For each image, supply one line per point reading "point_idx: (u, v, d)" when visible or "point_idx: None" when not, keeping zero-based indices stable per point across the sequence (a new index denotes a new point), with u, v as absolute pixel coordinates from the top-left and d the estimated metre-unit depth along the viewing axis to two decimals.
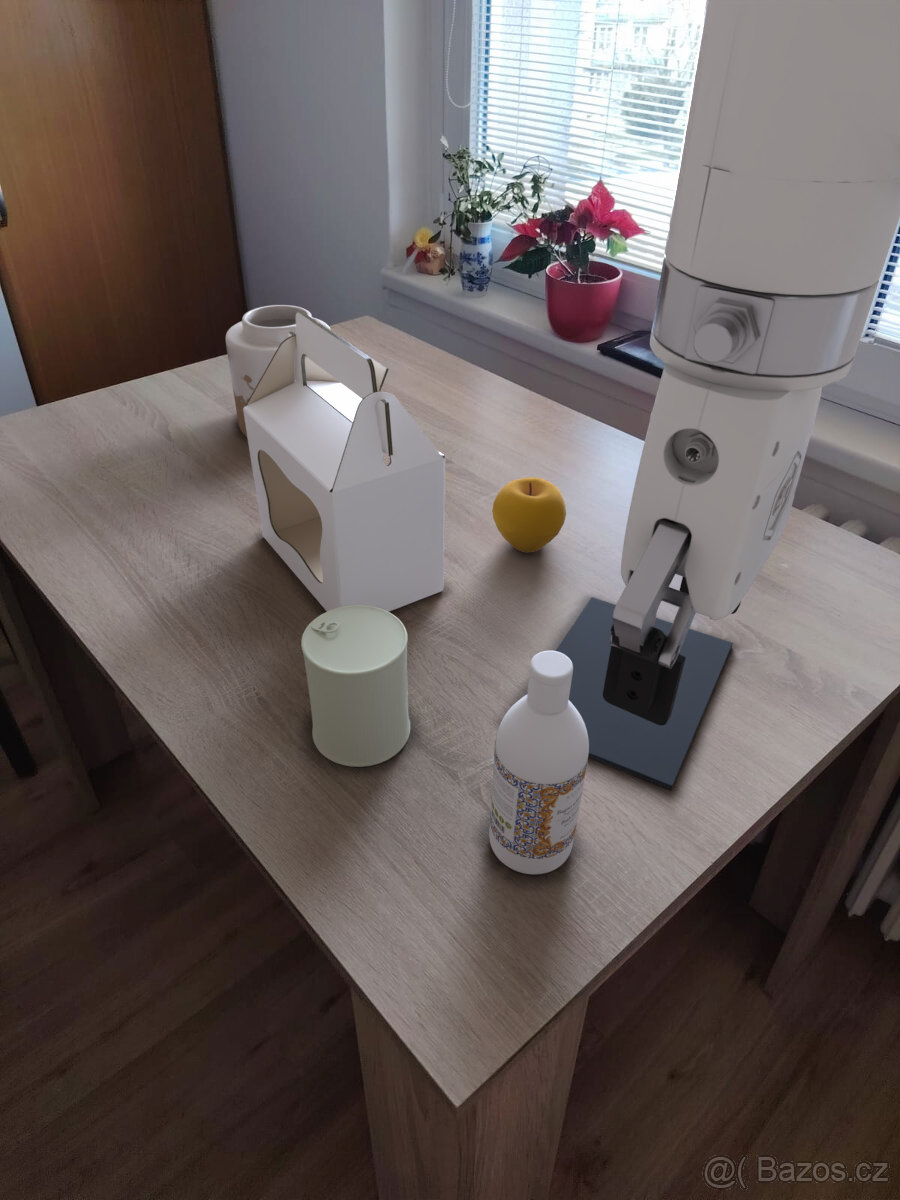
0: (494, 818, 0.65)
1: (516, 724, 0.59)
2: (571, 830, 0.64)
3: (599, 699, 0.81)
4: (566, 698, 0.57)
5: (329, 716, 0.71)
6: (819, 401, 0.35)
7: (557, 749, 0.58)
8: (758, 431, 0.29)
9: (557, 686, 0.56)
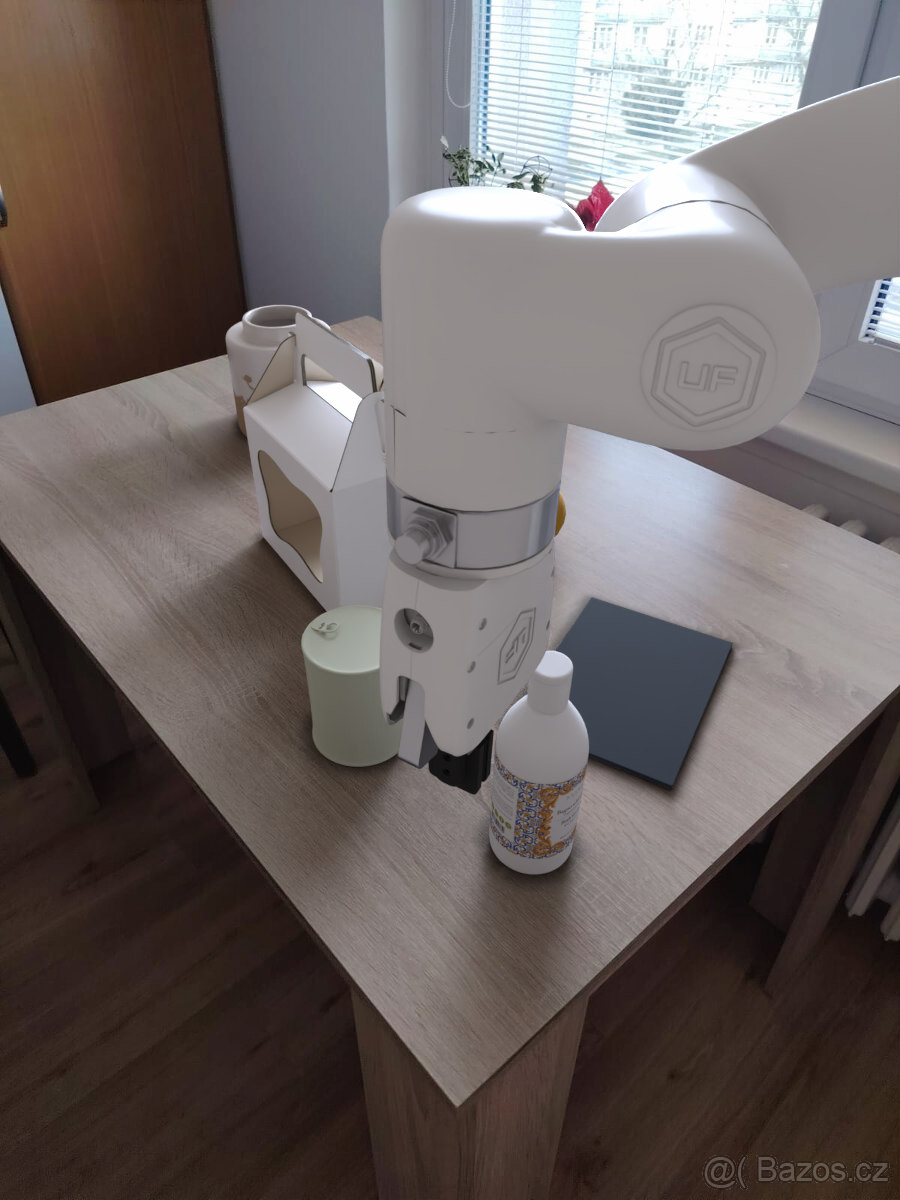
0: (494, 818, 0.65)
1: (516, 724, 0.59)
2: (571, 830, 0.64)
3: (599, 699, 0.81)
4: (566, 698, 0.57)
5: (329, 716, 0.71)
6: (550, 559, 0.40)
7: (557, 749, 0.58)
8: (460, 615, 0.34)
9: (557, 687, 0.56)
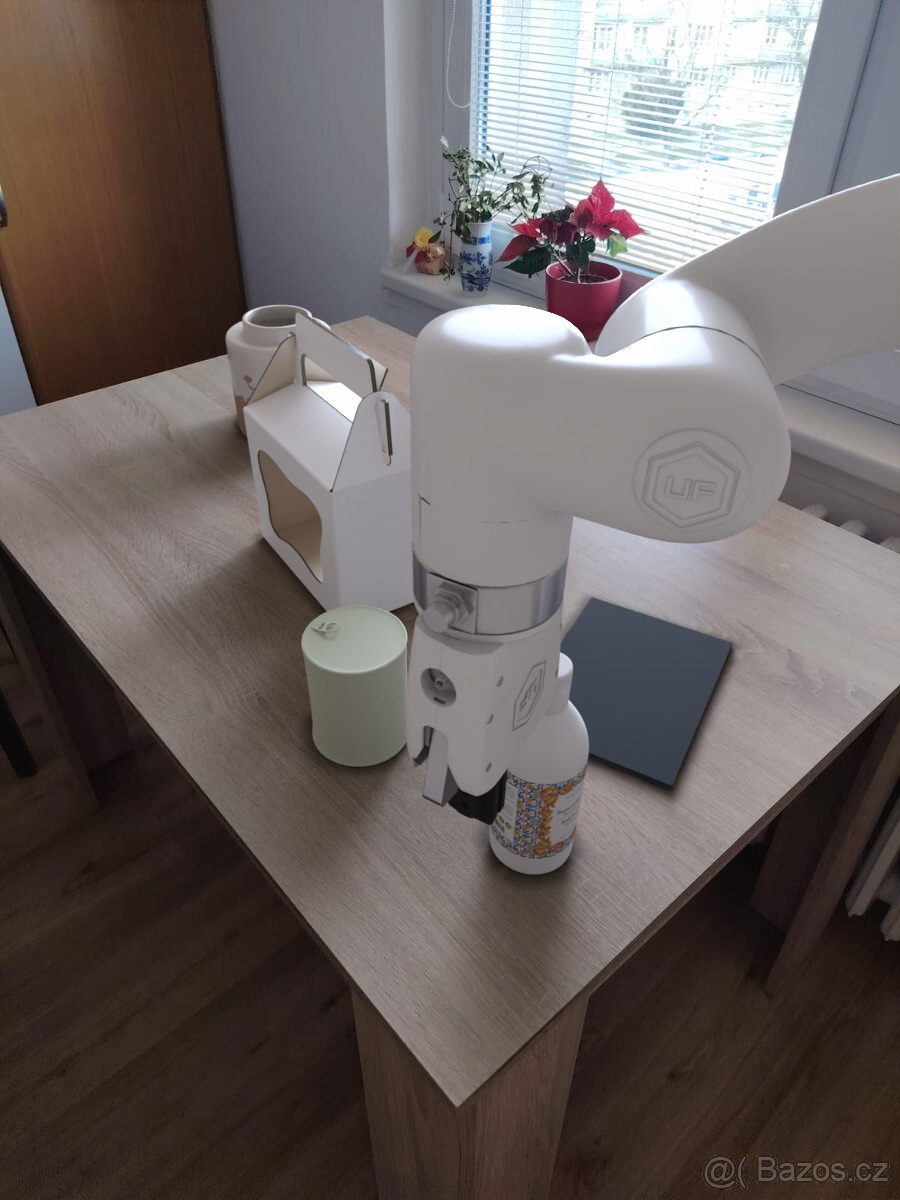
0: None
1: None
2: (571, 830, 0.64)
3: (599, 699, 0.81)
4: (566, 698, 0.57)
5: (329, 716, 0.71)
6: (558, 616, 0.44)
7: (557, 749, 0.58)
8: (480, 675, 0.38)
9: (557, 687, 0.56)
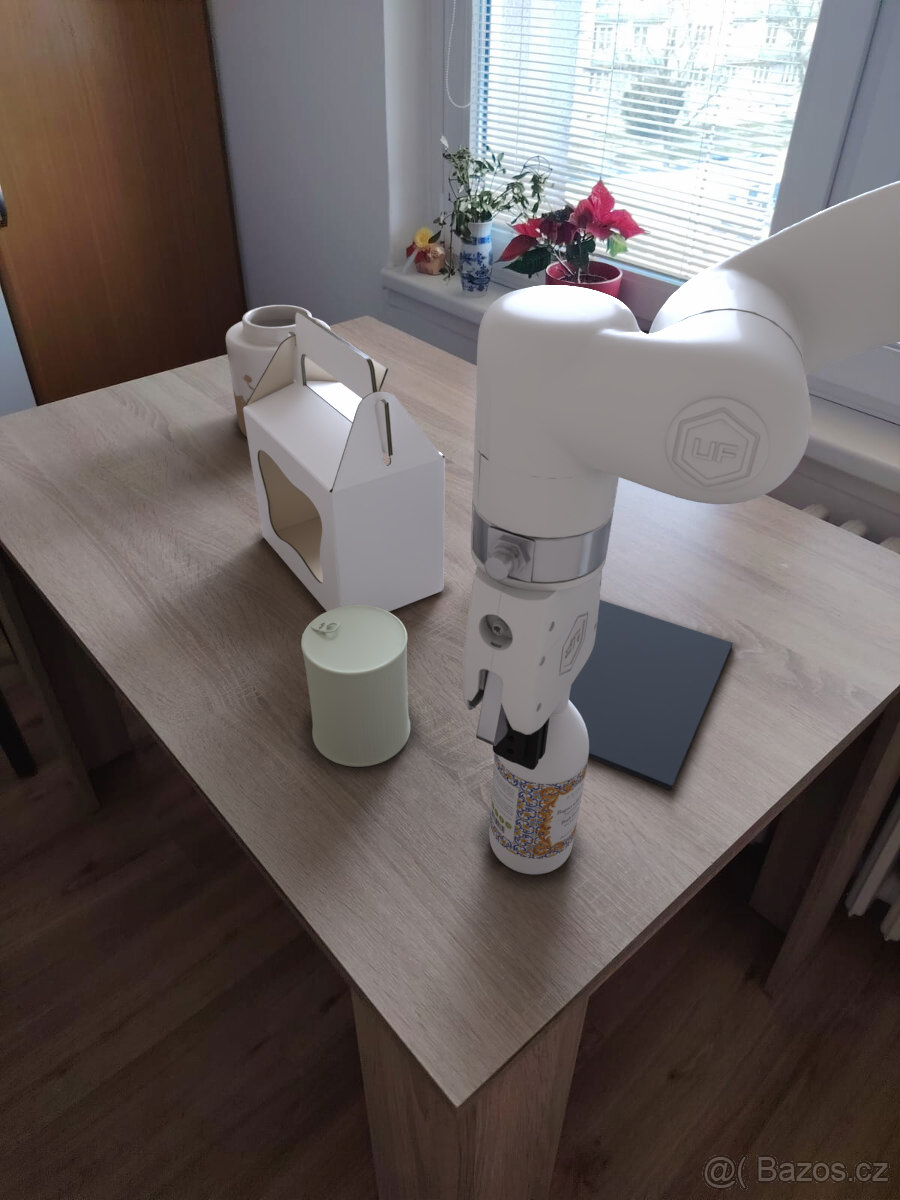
0: (494, 818, 0.65)
1: None
2: (571, 830, 0.64)
3: (599, 699, 0.81)
4: (566, 698, 0.57)
5: (329, 716, 0.71)
6: (599, 572, 0.49)
7: (557, 749, 0.58)
8: (535, 619, 0.43)
9: None
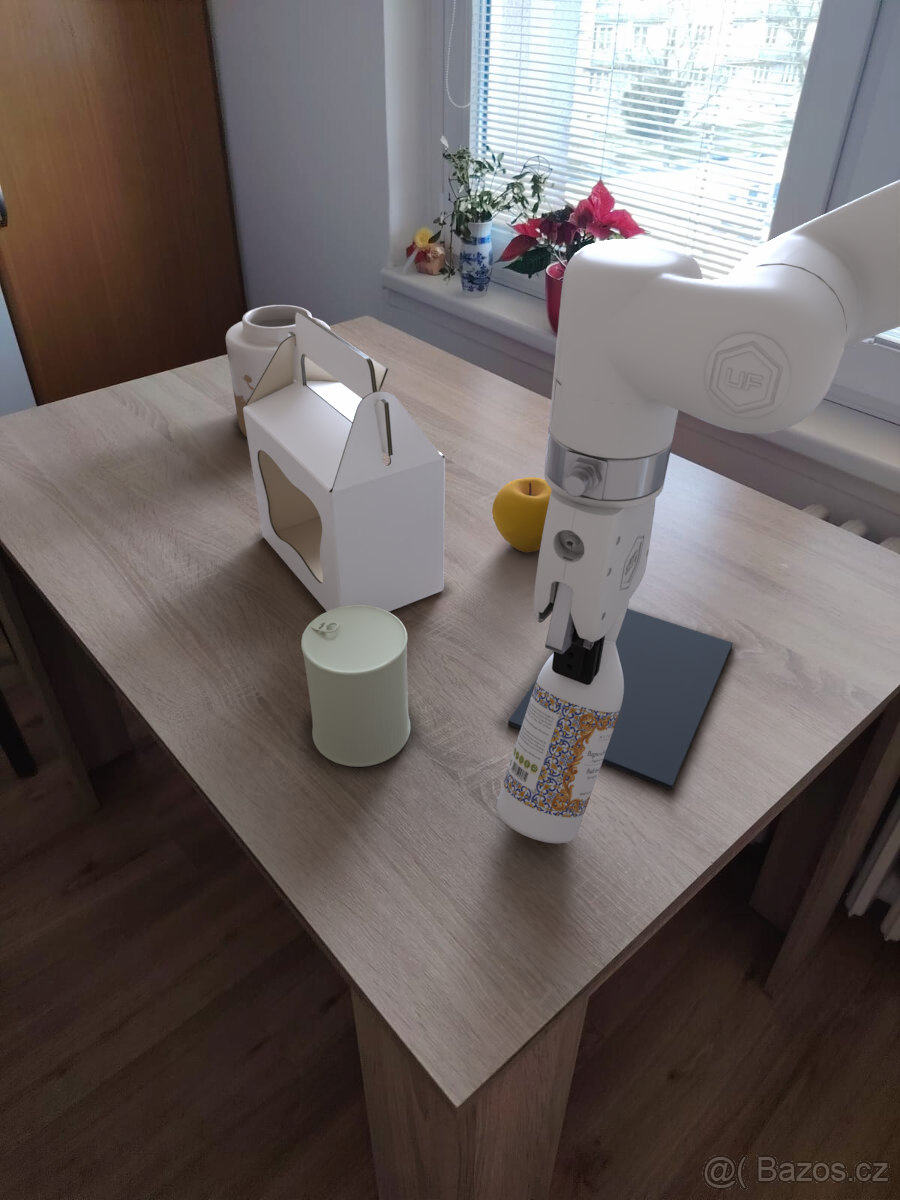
0: (516, 769, 0.65)
1: None
2: (588, 794, 0.65)
3: None
4: (618, 629, 0.64)
5: (329, 716, 0.71)
6: (654, 500, 0.55)
7: (605, 674, 0.63)
8: (605, 532, 0.49)
9: None
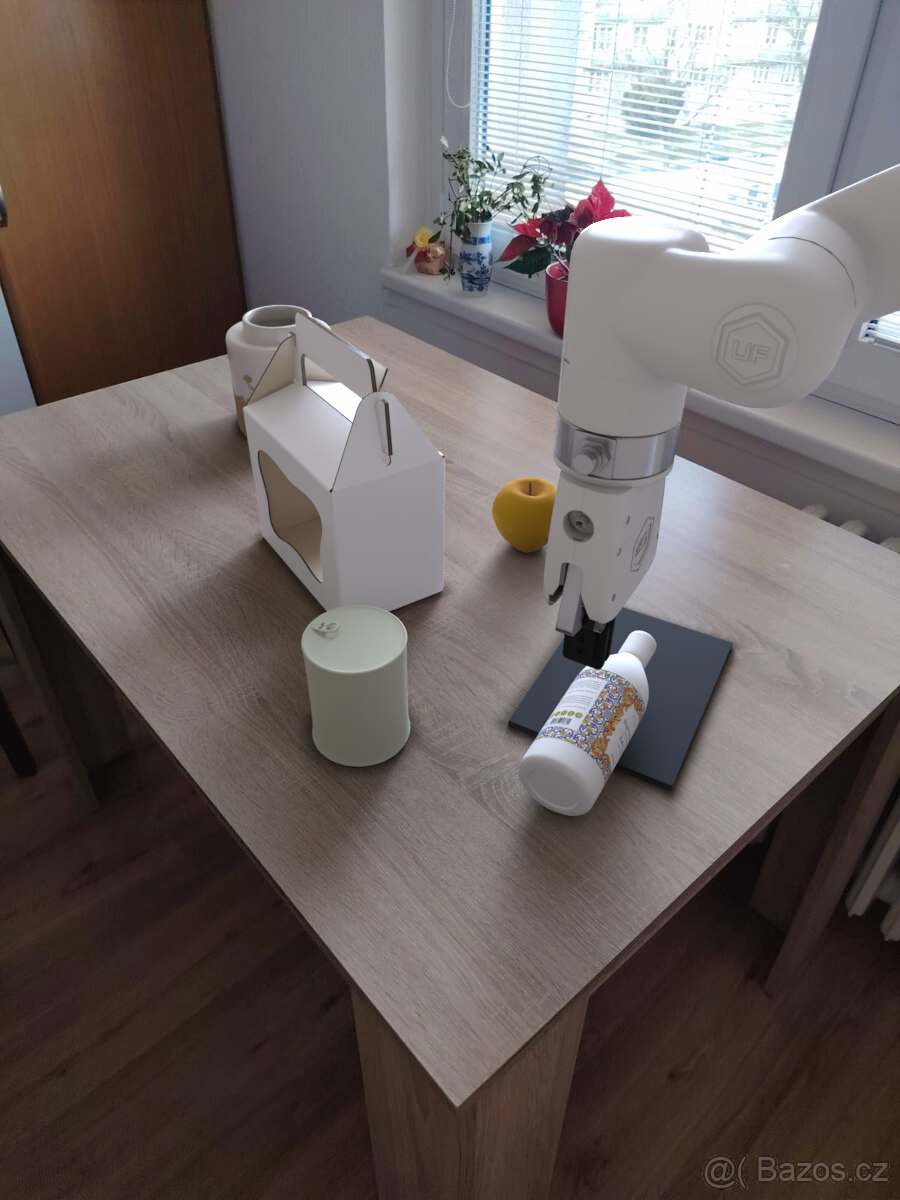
0: (556, 721, 0.70)
1: (612, 655, 0.77)
2: (613, 766, 0.70)
3: None
4: (648, 661, 0.79)
5: (329, 716, 0.71)
6: (664, 482, 0.55)
7: (642, 673, 0.75)
8: (614, 512, 0.49)
9: (650, 644, 0.79)
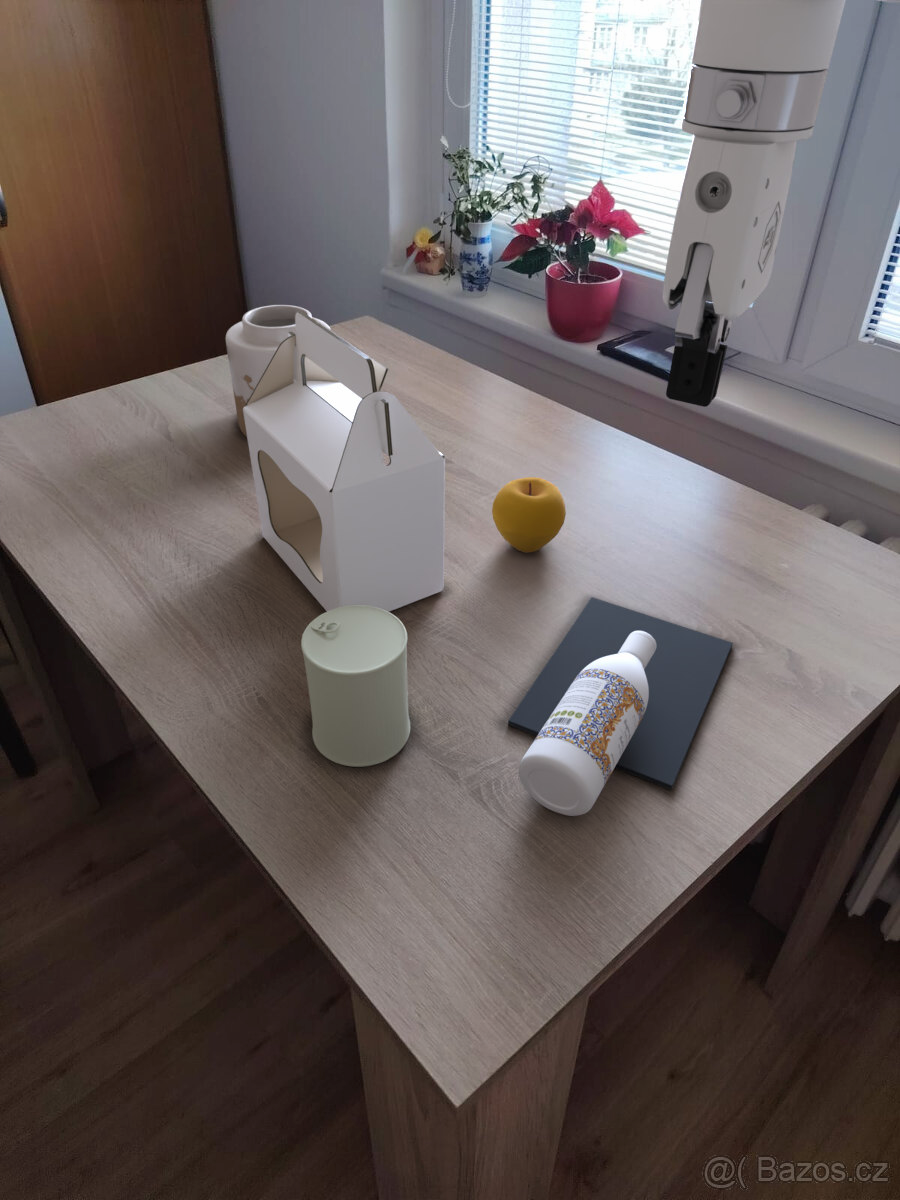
0: (556, 721, 0.70)
1: (612, 655, 0.77)
2: (613, 766, 0.70)
3: None
4: (648, 661, 0.79)
5: (329, 716, 0.71)
6: None
7: (642, 673, 0.75)
8: (756, 167, 0.46)
9: (650, 644, 0.79)
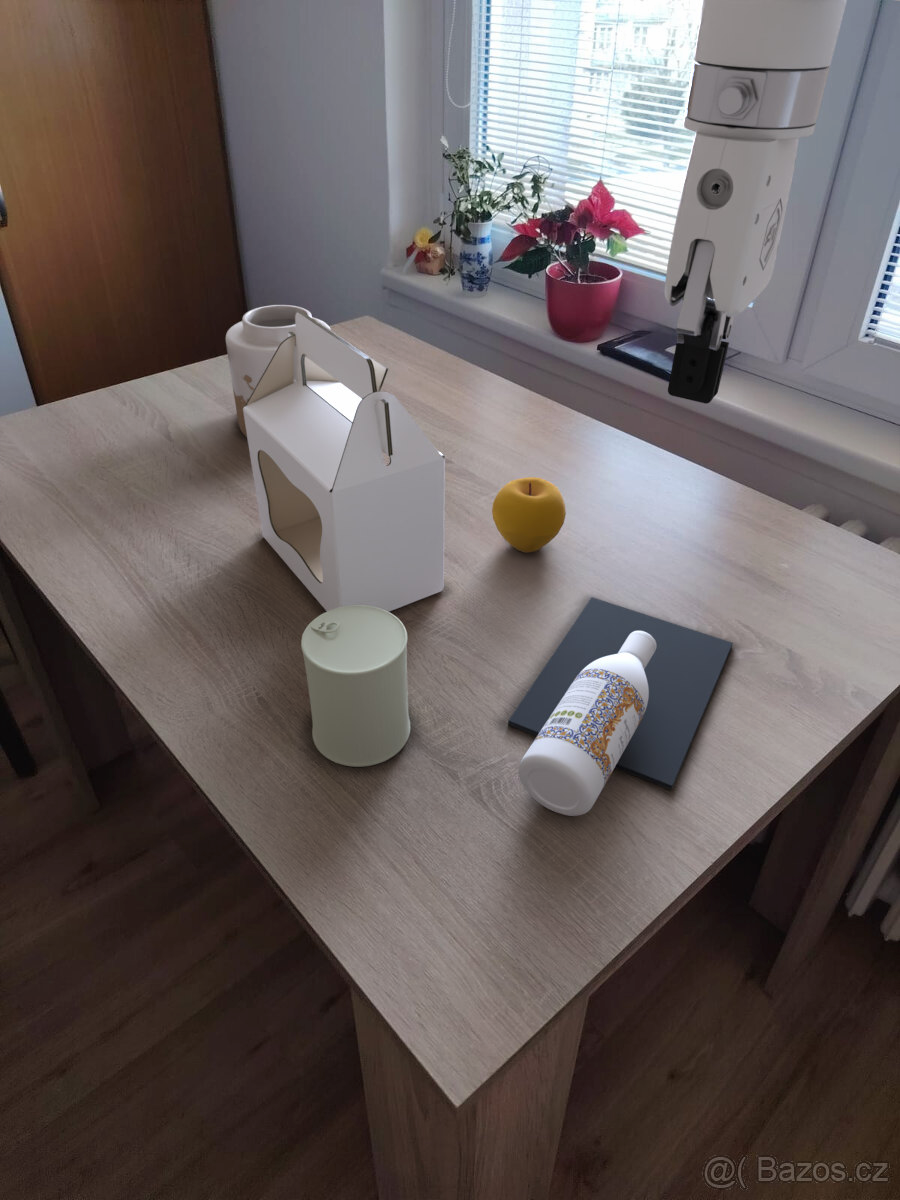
0: (556, 721, 0.70)
1: (612, 655, 0.77)
2: (613, 766, 0.70)
3: None
4: (648, 661, 0.79)
5: (329, 716, 0.71)
6: None
7: (642, 673, 0.75)
8: (758, 164, 0.46)
9: (650, 644, 0.79)
